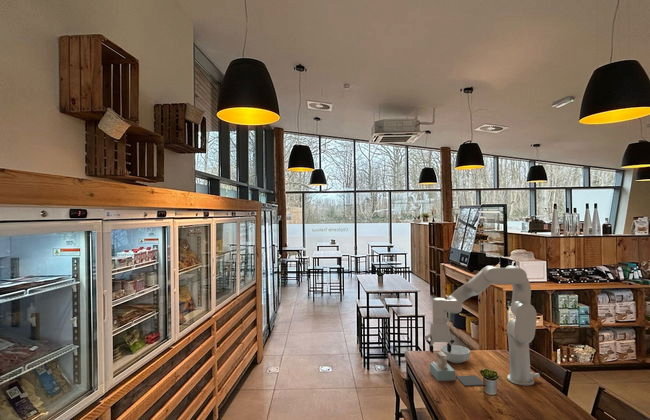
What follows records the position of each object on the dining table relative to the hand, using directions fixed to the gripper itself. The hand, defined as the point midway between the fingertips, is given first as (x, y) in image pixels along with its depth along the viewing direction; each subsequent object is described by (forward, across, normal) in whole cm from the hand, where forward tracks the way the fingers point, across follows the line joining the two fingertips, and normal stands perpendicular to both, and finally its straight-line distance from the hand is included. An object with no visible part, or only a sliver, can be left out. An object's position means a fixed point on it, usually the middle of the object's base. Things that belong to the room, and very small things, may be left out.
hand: (440, 352), depth 194 cm
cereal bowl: (+13, -17, -20) cm, 29 cm away
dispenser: (+13, -1, 0) cm, 13 cm away
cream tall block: (+13, -1, 0) cm, 13 cm away
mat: (+12, -13, +8) cm, 20 cm away
